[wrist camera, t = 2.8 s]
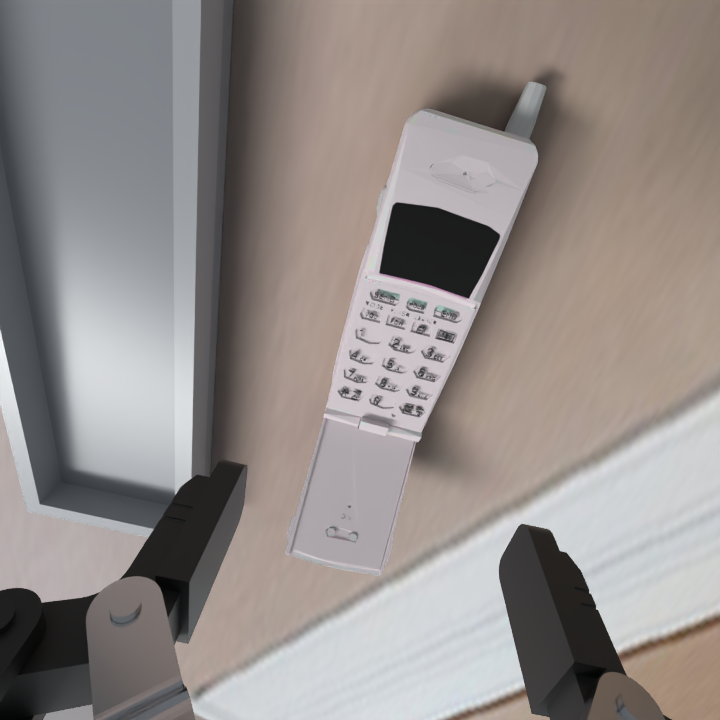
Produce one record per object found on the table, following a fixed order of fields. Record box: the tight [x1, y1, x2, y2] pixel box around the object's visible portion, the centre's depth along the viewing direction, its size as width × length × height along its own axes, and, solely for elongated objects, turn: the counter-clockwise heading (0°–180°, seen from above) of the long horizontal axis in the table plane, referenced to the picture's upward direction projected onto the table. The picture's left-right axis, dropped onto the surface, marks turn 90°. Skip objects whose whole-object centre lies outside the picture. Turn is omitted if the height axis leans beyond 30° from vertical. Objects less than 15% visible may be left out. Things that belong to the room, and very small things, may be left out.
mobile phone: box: [285, 81, 547, 576], centre depth 20 cm, size 6×6×25 cm
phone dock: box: [0, 0, 234, 538], centre depth 22 cm, size 30×11×3 cm, turn 168°
